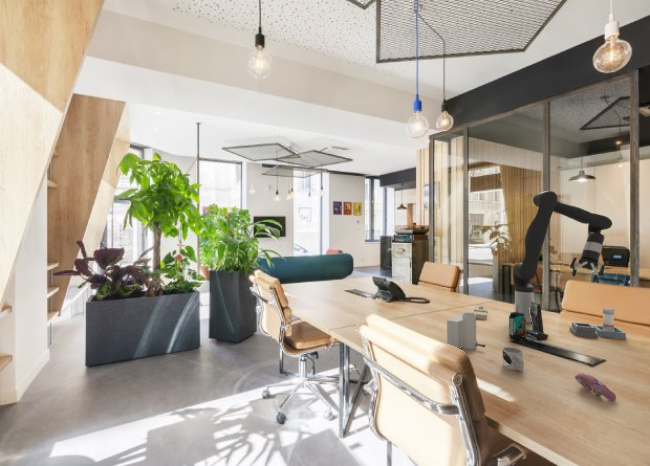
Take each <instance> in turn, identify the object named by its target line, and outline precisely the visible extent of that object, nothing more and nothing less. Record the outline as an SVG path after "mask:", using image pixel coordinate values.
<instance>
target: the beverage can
mask: <svg viewBox="0 0 650 466" xmlns="http://www.w3.org/2000/svg"><path fill="white" fill-rule="evenodd" d="M508 336H509V338H510V339H512V340H515V339H518V340H517V341H520V340H519V339H525V338H526V339H527V323H526V318H525V316H524V314H523V313H518V312H514V311H513V312H510V314H509V316H508ZM526 339H525V340H526Z"/></svg>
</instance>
